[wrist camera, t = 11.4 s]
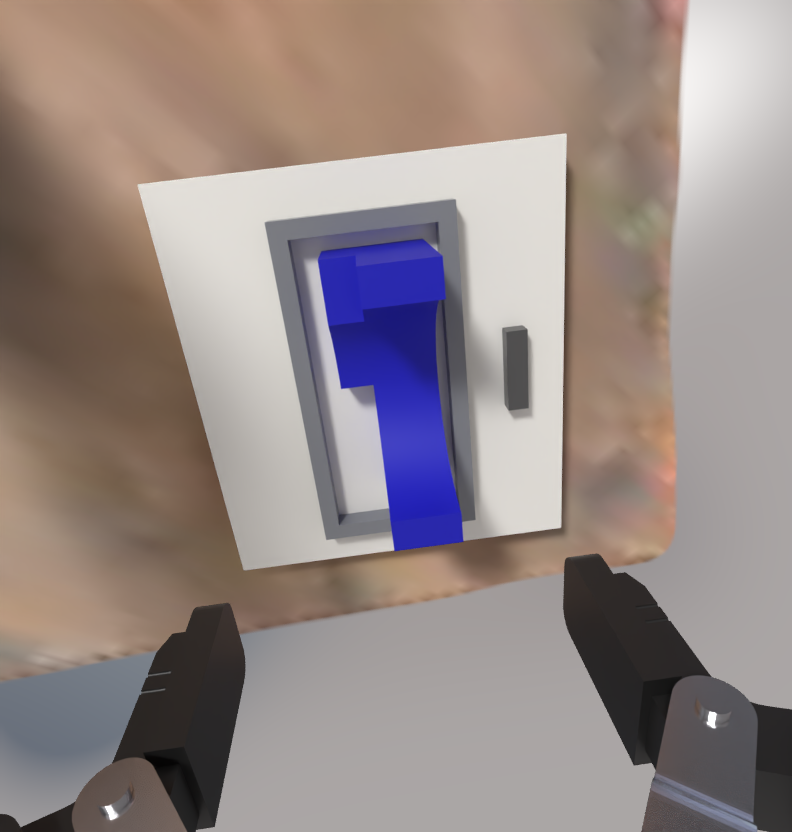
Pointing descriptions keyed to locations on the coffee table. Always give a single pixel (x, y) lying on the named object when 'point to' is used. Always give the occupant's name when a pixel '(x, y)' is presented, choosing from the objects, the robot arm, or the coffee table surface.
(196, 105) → the coffee table surface
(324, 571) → the coffee table surface
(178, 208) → the board
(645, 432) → the coffee table surface
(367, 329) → the cable clip
